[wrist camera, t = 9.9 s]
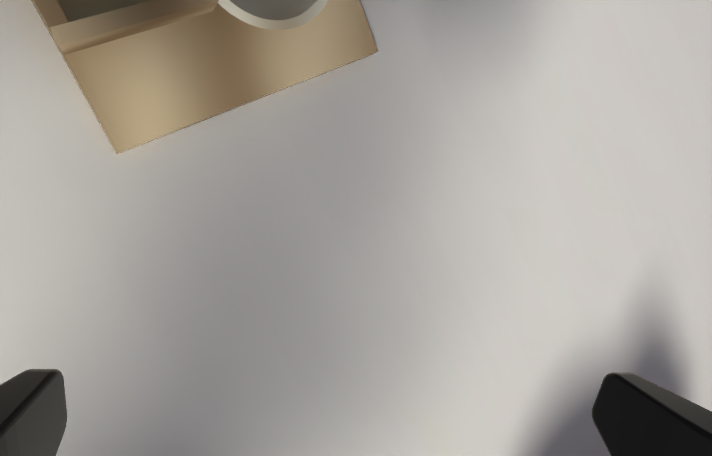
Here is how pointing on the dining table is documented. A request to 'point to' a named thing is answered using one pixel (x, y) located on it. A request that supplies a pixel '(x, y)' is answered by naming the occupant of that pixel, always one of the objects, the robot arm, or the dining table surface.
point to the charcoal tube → (274, 8)
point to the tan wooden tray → (193, 57)
